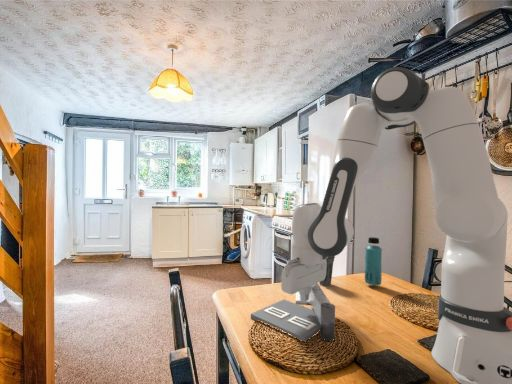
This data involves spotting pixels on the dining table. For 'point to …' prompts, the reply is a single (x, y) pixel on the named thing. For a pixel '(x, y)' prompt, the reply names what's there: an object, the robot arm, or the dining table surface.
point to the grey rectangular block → (323, 312)
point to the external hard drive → (300, 300)
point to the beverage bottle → (373, 262)
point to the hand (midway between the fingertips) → (304, 300)
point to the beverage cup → (328, 272)
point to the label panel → (290, 319)
